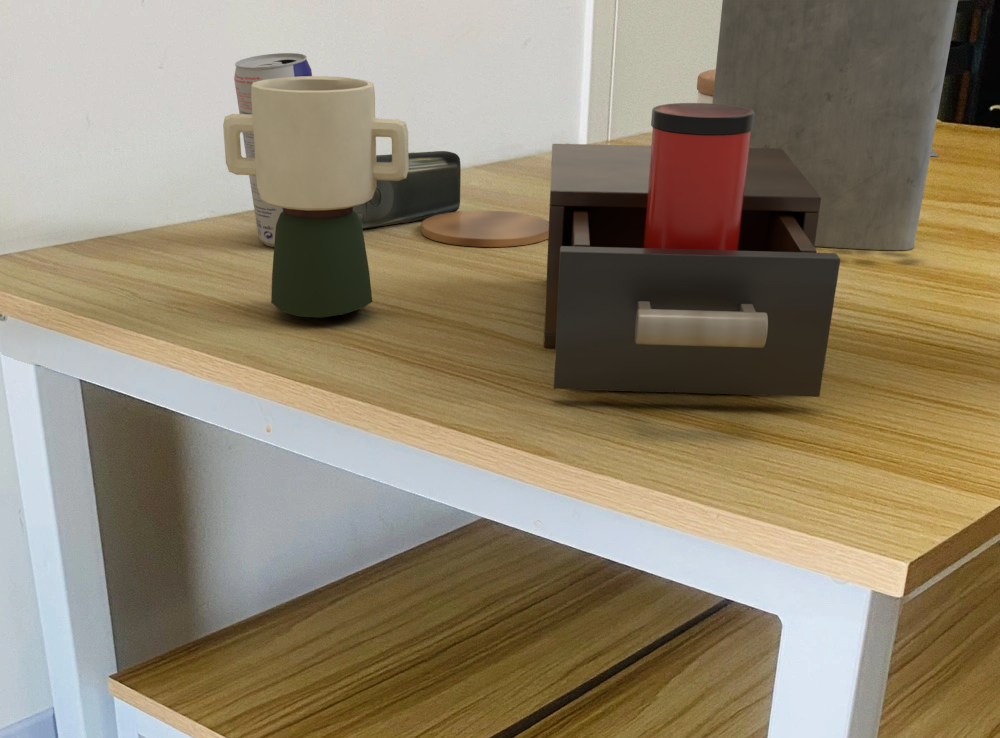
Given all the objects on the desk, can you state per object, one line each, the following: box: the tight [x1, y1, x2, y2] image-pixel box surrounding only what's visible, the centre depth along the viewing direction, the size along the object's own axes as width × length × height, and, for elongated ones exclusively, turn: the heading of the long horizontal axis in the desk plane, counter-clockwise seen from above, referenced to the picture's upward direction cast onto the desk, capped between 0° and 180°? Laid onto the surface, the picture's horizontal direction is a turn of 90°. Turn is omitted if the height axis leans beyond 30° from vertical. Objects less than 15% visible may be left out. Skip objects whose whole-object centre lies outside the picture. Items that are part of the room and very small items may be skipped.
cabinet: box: [543, 143, 821, 349], centre depth 83 cm, size 16×15×9 cm
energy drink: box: [233, 52, 313, 248], centre depth 97 cm, size 5×5×12 cm
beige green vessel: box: [222, 75, 409, 319], centre depth 81 cm, size 11×7×13 cm, turn 82°
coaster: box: [420, 210, 549, 248], centre depth 104 cm, size 10×10×1 cm
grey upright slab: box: [713, 0, 959, 251], centre depth 98 cm, size 16×4×20 cm, turn 72°
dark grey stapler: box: [353, 150, 462, 230], centre depth 105 cm, size 5×3×15 cm
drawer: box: [553, 206, 841, 398], centre depth 72 cm, size 19×13×7 cm
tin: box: [643, 102, 755, 251], centre depth 70 cm, size 5×5×12 cm
